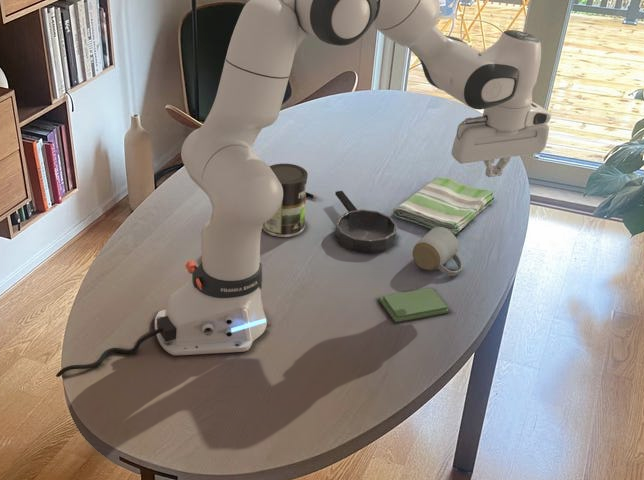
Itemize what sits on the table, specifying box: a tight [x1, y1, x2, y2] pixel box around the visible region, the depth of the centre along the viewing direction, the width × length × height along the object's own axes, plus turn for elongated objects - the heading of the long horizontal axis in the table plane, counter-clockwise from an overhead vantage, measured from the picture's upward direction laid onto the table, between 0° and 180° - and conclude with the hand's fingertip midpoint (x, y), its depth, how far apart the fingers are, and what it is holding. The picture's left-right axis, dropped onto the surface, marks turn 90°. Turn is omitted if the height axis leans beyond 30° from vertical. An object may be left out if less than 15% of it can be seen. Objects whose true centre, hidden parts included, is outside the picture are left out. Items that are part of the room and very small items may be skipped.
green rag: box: [379, 287, 450, 323], centre depth 171 cm, size 12×8×1 cm, turn 107°
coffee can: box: [262, 163, 309, 238], centre depth 192 cm, size 10×10×14 cm
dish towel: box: [392, 176, 495, 236], centre depth 202 cm, size 17×23×4 cm
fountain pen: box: [306, 191, 319, 199], centre depth 209 cm, size 14×1×2 cm, turn 57°
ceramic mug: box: [412, 227, 463, 277], centre depth 181 cm, size 11×8×8 cm
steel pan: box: [334, 190, 398, 254], centre depth 195 cm, size 14×24×3 cm, turn 17°
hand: (493, 175), depth 173 cm, fingers closed
